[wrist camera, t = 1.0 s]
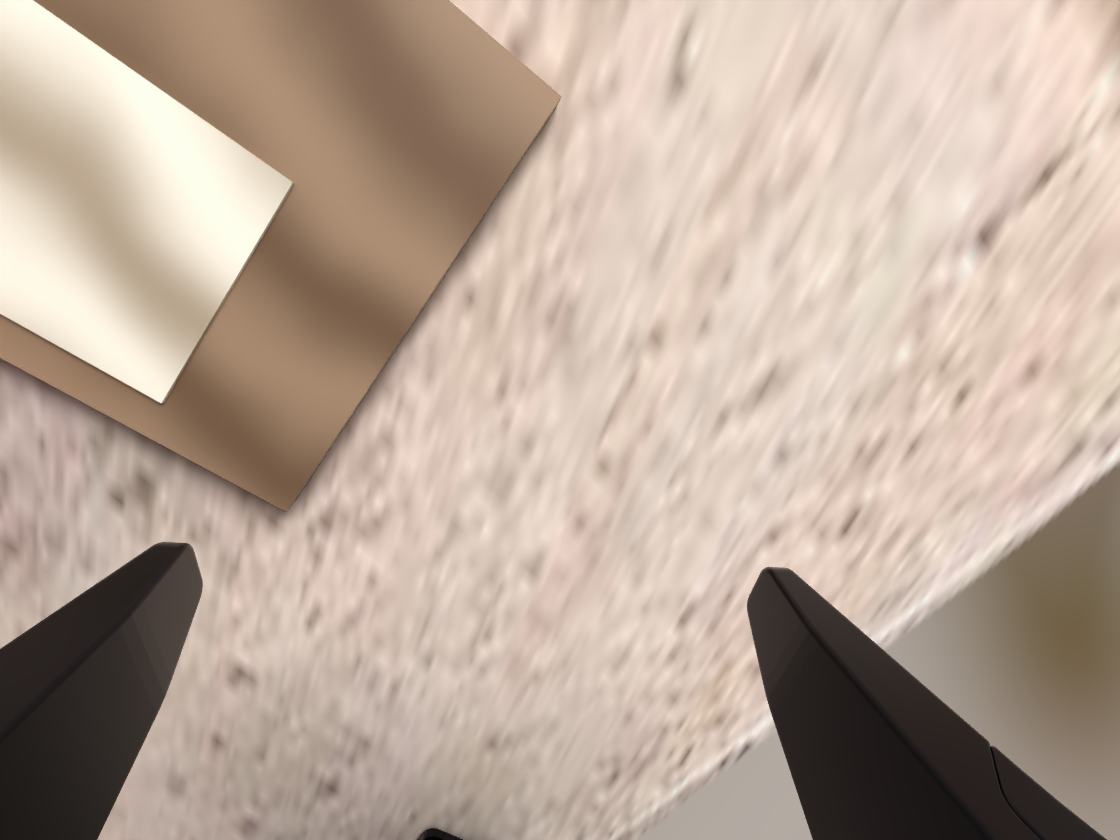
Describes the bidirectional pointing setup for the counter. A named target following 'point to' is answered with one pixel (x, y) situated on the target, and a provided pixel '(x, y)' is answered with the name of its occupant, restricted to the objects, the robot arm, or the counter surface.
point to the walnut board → (241, 206)
